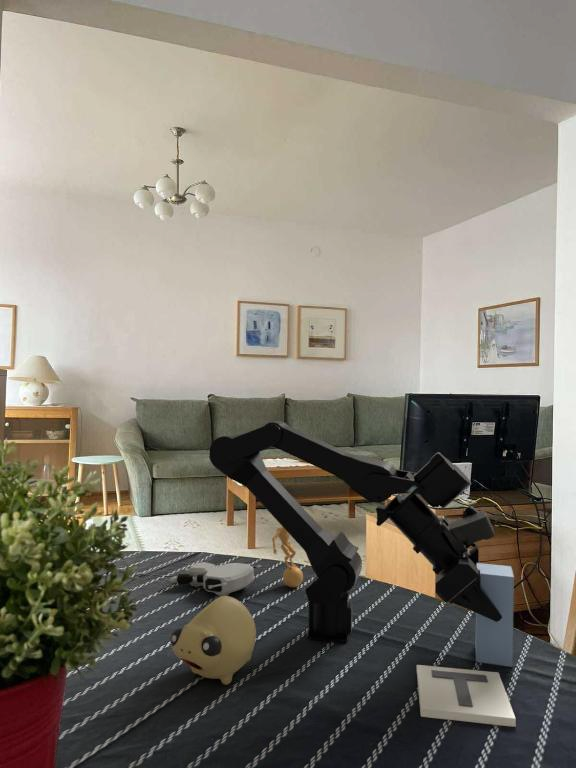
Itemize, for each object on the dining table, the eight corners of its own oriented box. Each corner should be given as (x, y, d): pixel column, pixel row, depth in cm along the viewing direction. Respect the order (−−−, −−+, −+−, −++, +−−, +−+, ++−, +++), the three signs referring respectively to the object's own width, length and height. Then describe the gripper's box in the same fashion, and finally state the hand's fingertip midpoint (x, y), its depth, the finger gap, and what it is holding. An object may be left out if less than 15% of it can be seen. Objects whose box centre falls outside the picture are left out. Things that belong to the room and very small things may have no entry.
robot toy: (165, 595, 112) (229, 605, 104) (164, 571, 112) (227, 580, 105) (204, 577, 122) (264, 584, 115) (203, 555, 123) (263, 561, 115)
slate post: (475, 661, 85) (477, 573, 85) (475, 646, 89) (476, 563, 89) (512, 667, 83) (513, 577, 83) (509, 651, 88) (511, 566, 88)
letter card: (420, 716, 71) (420, 706, 71) (416, 671, 81) (416, 663, 81) (515, 726, 69) (515, 716, 69) (498, 679, 80) (498, 671, 80)
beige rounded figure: (156, 687, 77) (157, 607, 77) (212, 651, 87) (213, 580, 87) (216, 709, 72) (216, 624, 72) (267, 668, 82) (268, 593, 82)
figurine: (287, 595, 110) (288, 532, 110) (263, 587, 114) (264, 526, 114) (313, 583, 116) (314, 524, 116) (290, 576, 120) (291, 519, 120)
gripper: (461, 505, 79) (548, 595, 75) (461, 482, 96) (532, 555, 93) (402, 558, 81) (484, 647, 78) (413, 526, 99) (480, 598, 96)
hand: (498, 607), depth 86 cm, fingers open, 9 cm apart
